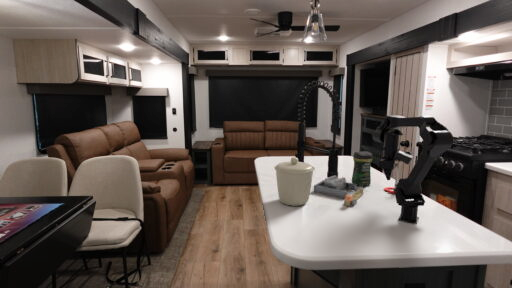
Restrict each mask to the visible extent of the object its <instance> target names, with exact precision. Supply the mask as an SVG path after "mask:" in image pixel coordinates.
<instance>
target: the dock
mask: <svg viewBox="0 0 512 288" xmlns="http://www.w3.org/2000/svg"><path fill="white" fill-rule="evenodd" d="M324 180H325V179H323V180H321V181H320V182H318V183H316V184H314V185H313V193H314V194H315V193H316V194H321V195H326V196H331V197H335V198H340V199H344V200H343V203H344V204H343V205H345V206H346V201H345V196H346V195H348V191H353V192H357V185H356V184H353V183H352V182H347V181H346V191H344V190H338V189H333V188H328V187H324ZM357 204H358V199H357V200H354V201H352V205H351V207H355V206H356V205H357Z"/></svg>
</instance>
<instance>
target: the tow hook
mask: <svg viewBox="0 0 512 288" xmlns="http://www.w3.org/2000/svg"><path fill="white" fill-rule="evenodd" d="M394 181H395V182H394V187H391V186H389V187H388V186H387V187H384V188H383V190H384V191H385V192H388V194H393V195H395V189H396V187H397V186H396V185H397V184H398V181H399V168H396V172H395V180H394Z"/></svg>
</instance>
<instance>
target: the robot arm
mask: <svg viewBox="0 0 512 288" xmlns="http://www.w3.org/2000/svg"><path fill="white" fill-rule="evenodd" d="M406 127H411V128H412V127H413V128H414V127H415V128H416V127H417V128H418V129H419V133H418V134H419V137H420V138H421V139H422V142H421V148H422V151H421V153H420V155H419V156H418V158H417V160H416V162H415V164H414V165H413V167H412V169H411V171H410V172H409V174H408V175H407V177H406V178H400V179H398V184H397V185H396V186H397V187H396V189H395V194H394V195H395V202H396V203H397V205H398V206H401V208H400V215H399V216H398V218H397V220H398V221H401V222H402V221H403V222H407V223H411V224H416V225H417V224H418V222H419V219H420V217H419V216H418V211H419V207H420V206H422V207H423V206H425V203H426V200H425V199H424V196H423V194H422V189H423V188H422V185H421V184H422V183H423V181H424V179H425V178H426V176H427V174H428V173H429V171H430V170H431V168H432V166H433V164H434V163H435V161H436V160H437V158H438V157H439V156H440V155H442V154H444V153H445V152H447V151H448V150H449V149H450V148H451V147H452V145H454V141H455V139H454V136H453V134H452V132H451V131H450V130H449V129H448V128H447V127H446V126H445V125H443V124H441V123H440V122H439V121H437V119H436V118H435V117H434V116H432V115H420V116H411V117H406V116H403V115H385V116H383V119H382V120H381V123H380V124H379V126H376V129H375V130H374V131H373V132H372V134H371V137H372V140H373V141H375V142H378V143H382V144H383V147H382V151H383V154H382V156H381V159H380V160H379V161H378V162H377V167H378V168H381V169H382V172H383V173H384V176H385V178H386V180H387V181H391V178H392V175H393V172H394V169H397V168H396V167H398V166H399V163H401V162H402V163H404V164H406V165H410V163H412V160H413V158H414V155H412V152H411V151H409V150H406V151H401V148H400V146H399V145H400V136H403V135H404V134H403V132H401V130H400V129H404V128H406ZM428 128H429V129H430V130H429V129H428ZM396 162H398V163H396Z"/></svg>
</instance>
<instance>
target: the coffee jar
mask: <svg viewBox="0 0 512 288" xmlns="http://www.w3.org/2000/svg"><path fill="white" fill-rule="evenodd" d="M352 158H353V169H352V175H351V177H352V178H351V183H353V184H356V187H357V186H358V187H365V186H370V185H371V184H372V183H371V179H372V177H371V165H372V161H373V153H372V152H370V151H354V153H353V157H352Z"/></svg>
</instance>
